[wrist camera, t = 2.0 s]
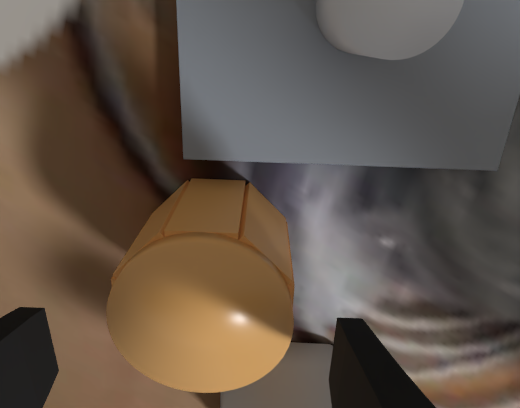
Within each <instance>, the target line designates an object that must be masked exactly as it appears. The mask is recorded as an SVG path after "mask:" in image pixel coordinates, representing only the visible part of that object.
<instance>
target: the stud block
mask: <svg viewBox="0 0 520 408" xmlns="http://www.w3.org/2000/svg"><path fill="white" fill-rule="evenodd" d="M176 5H177V27H178V50H179V72H180V94H181V116H182V139H183V159H194V160H220V161H247V162H274V163H300V164H327V165H354V166H380V167H407V168H434V169H460V170H487V171H498V168H499V164H500V161H501V157H502V154H503V151H504V147H505V144H506V140H507V137H508V133H509V130H510V127H511V123H512V120H513V116H514V113H515V110H516V106H517V103H518V99H519V96H520V0H176Z"/></svg>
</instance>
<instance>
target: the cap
mask: <svg viewBox="0 0 520 408" xmlns="http://www.w3.org/2000/svg"><path fill="white" fill-rule="evenodd" d="M245 185H246V180H221V179H195V178H192V179H191V181H190V182H189V181H188V180H187V181H186V182H185V183H184V184H183V185H182V186H180V187H179V188H178V189H177V190H176V191H175V192H174V193H173V194H172V195H171V196H170V197H169V198H168V199H167V200H166V201H165V202H163V203H162V204H161V205H160V206H159V207H158V208H157V209H156V210H155V211H154V212H153V213H152V214H151V216H150V217H149V219H148V220H147V222H146V224H145V225H144V227H143V228H142V230H141V231H140V233H139V234H138V236H137V237H136V239H135V241H134V242H133V244H132V245H131V247H130V248H129V250H128V251H127V253H126V254H125V256H124V258H123V259H122V261H121V262H120V264H119V265H118V267H117V268H116V270H115V271H114V273H113V277H112V278H111V283H112V289H111V291H110V293H109V297H108V301H107V308H106V317H107V325H108V329H109V332H110V335H111V337H112V340H113V342H114V344H115V345H116V347H117V349H118V350H119V352H120V353H121V354H122V356H123V357H124V358H125V359H126V360H127V361H128V362H129V363H130V364H131V365H132V366H133V367H134V368H136V369H137V370H138V371H139V372H141V373H142V374H144V375H145V376H147V377H149V378H150V379H152V380H154V381H156V382H158V383H161V384H163V385H166V386H168V387H172V388H175V389H179V390H183V391H189V392H198V393H215V392H225V391H229V390H234V389H238V388H241V387H244V386H246V385H249V384H251V383H253V382H255V381H257V380H259V379H260V378H262V377H264V376H265V375H266V374H267V373H269V372H270V371H271V370H272V369H273V368H274V367H275V366H276V365H277V364H278V363H279V362H280V361H281V359H282V358H283V357H284V355H285V353H286V351H287V349H288V348H289V345H290V342H291V339H292V334H293V325H294V318H293V297H294V278H293V269H292V261H291V253H290V244H289V236H288V227H287V222H286V218H285V217H284V216H283V215H282V214H281V213H280V212H279V211H278V210H277V209H276V208H275V207H274V206H273V205H272V204H271V203H270V202H269V201H268V200H267V199H266V198H265V197H264V196H263V195H262V194H261V193H260V192H259V191H258V190H257V189H256V188H255V187H254V186H253V185H252V184H251V183H250V182H249V183H248V184H247V185H246V186H245Z"/></svg>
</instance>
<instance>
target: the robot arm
mask: <svg viewBox="0 0 520 408" xmlns="http://www.w3.org/2000/svg"><path fill="white" fill-rule="evenodd" d="M58 371H59V369H58V365H57V361H56V356H55V352H54V348H53V343H52V339H51V334H50V330H49V326H48V321H47V317H46V313H45V308H30V307H19V308H17V309H15V310H14V311H12V312H10V313H8V314H6V315H5V316H3V317H1V318H0V408H43V405H44V403H45V401H46V399H47V397H48V395H49V392H50V390H51V388H52V385H53V383H54V381H55V378H56V376H57V374H58ZM329 388H330V396H331V404H332V408H436V407H435V406H434V405H433V404H432V403H431V402H430V400H429V399H428V398H427V397H426V396H425V395H424V394H423V393H422V391H421V390H420V389H419V388H418V387H417V386H416V384H415V383H414V382H413V381H412V380H411V379H410V377H409V376H408V375H407V374H406V373H405V372H404V370H403V369H402V368H401V367H400V365H399V364H398V363H397V362H396V361H395V359H394V358H393V357H392V356H391V354H390V353H389V352H388V351H387V349H386V348H385V347H384V346H383V344H382V343H381V342H380V340H379V339H378V338H377V337H376V335H375V334H374V333H373V331H372V330H371V329H370V328H369V326H368V325H367V324H366V322H365V321H364V320H363V319H359V318H337V323H336V330H335V337H334V344H333V351H332V358H331V365H330V372H329Z"/></svg>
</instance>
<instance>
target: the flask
mask: <svg viewBox="0 0 520 408" xmlns="http://www.w3.org/2000/svg"><path fill="white" fill-rule="evenodd" d="M332 351H333V346H332V345H331V344H315V343H295V342H290V345H289V348H288V349H287V351H286V353H285V355H284V357H283V358H282V359H281V361H280V362H279V363H278V364H277V365H276V366H275V367H274V368H273V369H272V370H271V371H270V372H269V373H267V374H266V375H265V376H264V377H262V378H260V379H259V380H257V381H255V382H253V383H251V384H249V385H246V386H244V387H241V388H238V389H234V390H229V391H225V392H221V393H220V408H332V404H331V396H330V388H329V372H330V365H331V358H332Z"/></svg>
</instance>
